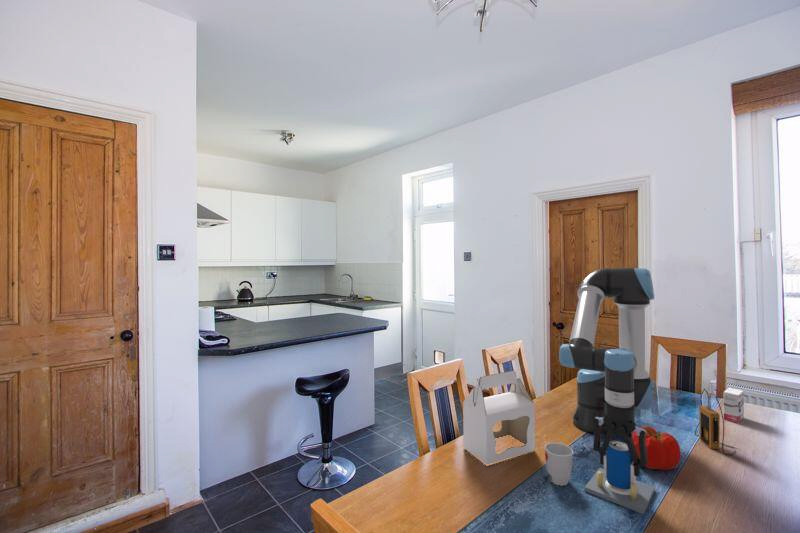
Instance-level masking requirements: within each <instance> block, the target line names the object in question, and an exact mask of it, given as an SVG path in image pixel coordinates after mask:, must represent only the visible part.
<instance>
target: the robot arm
mask: <svg viewBox="0 0 800 533" xmlns="http://www.w3.org/2000/svg"><path fill="white" fill-rule="evenodd" d="M653 285H654V284H653V278H652V274H651V271H650V270H649V269H647V268H640V267H624V268H623V267H622V268H621V267H616V268H615V267H614V268H613V267H612V268H611V267H610V268H609V267H604V268H599V269H597V270H594V271H593V272H591V273H589V274H588V275H587V276H586V277H584V278H583V280H582V281H581V283H580V284H579V286H578V288H577V293H576V294H577V298H578V302H577V306H576V310H575V314H574V315H575V316H574V319H573V322H572V323H573V324H572V328H571V333H570V337H569V342H568V343H563V344H561V345H560V347H559V351H558V352H559V353H558V357H559V358H558V359H559V363H560V365H561V366H563V367H567V368H570V369H571V368H572V369H579V370H578V372H577V374H576V376H577V377H576V386H577V387H576V388H577V390H576V391H577V393H576V394H577V395H576V396H577V397H576V398H577V399H576V400H577V405H576V406H575V407H576V408H575V410H574V413H573V416H572V423H573V425H574V426H575V427H577V428H578V429H579V430H582V431H584V432H589V433H592V434H593V433H594V436H593V437H594V438H593V444H592V446H593V448H592V450H593V451H594V452H598V453H599V458H600V460H599V461H600V462H599V463H600V465H601V466H602V465H603V469H604V478H607V446H608V445H609V442H610V441H612V439H613V436H614V435H615V436H620V437H622V438H623V441H625V443H626V444H627V446H628V449H629V452H630V455H631V458H632V464H631V483H634V484H636V480H637V478H638V477H639V476H640V474H641V466H643V467H646V466H645V465H646V464H647V462H648V459H647V449H646V439H645V436H646V433H647V430H646V429H645V428H643V429H641V428H642V427H639V426H637V424H636V422H635V410H643V411H646V410H647V411H648V410H651V407H652V404H653V397H654V389H655V382H656V381H655V380H654V379H652V378H651V374H650V373H649V371H647V370H646V308H648V306H650V305H651V304H650V303H651V302H650V301H652V300H655V292H654V286H653ZM606 298H608V299H610V298H611V299H613V301H614V302H613V303H614V304H615V306H617V308H618V347H619V348H602V347H595V346H594V344H595V338H596V332H597V329H598V328H597V327H598V323H599V322H598V320H599V315H600V308H601V304H602V302H603V301H604V300H605V299H606ZM634 431H636V432H637V435H638V436H639V438H638V440H639V450H640V458H639V456H638V453H637V450H636V447H635V444H634V442H633V439H632V435H633V433H634ZM602 434H606V436H605V437H604V438H605V439H604V440H603V443H602V442H601V441H602V439H601V438H602ZM601 443H602V445H601Z"/></svg>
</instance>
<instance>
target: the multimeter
mask: <svg viewBox="0 0 800 533" xmlns="http://www.w3.org/2000/svg"><path fill="white" fill-rule="evenodd" d="M704 391H705V393H706V394H707V406H706V405H703V403H702V401H700V404H701V405H700V406H699V407H698V408H699V410H698V412H699V414H698V415H699V416H698V417H699V421H698V424H697V426H696V427H695V430H694V435H695V436H697V437H699V441H700V442H701V443H703V444H705V445H706V446H707V447H708V448H709V449H712V450H720V445H722V446H721V448H722V453H723V454H724V455H727V456H733V455H734V454H735V452H736V450H735V449H737V450H742V449H741V448H738V447H735V446H734V445H729V444H725V443H724V439H725V438H724V437H725V419H724V413H723V411H722V407H721V404H720V402H719V400H718V397H717V396H716V394H714V393H710V394H709V393H708V391H707V390H706V388H703V390H702V392H701V395H700V398H702V396H703V394H704ZM711 396H714V397H715V399H716V401H717V404H718V407H719V410H720V413H721V416H720V413H719V412H718V411H716V410H715V409H713V408H712V405H711V401H710V398H711ZM720 417H721V418H722V426H723V430H722V443H721V442H720V435H721V434H720V433H721V432H720V426H721V425H720V424H721V423H720V421H721V420H720ZM698 427H699V429H698ZM697 430H699V434H697ZM724 446H725V447H729V448H732V449H733V450H732V452H731V454H728V453H725V451H724V450H725V449H724Z"/></svg>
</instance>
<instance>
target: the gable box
mask: <svg viewBox="0 0 800 533" xmlns="http://www.w3.org/2000/svg"><path fill="white" fill-rule="evenodd" d="M476 381H477V384H476V385H474V386H473V388H472V389H471V391H470V392H469V394H468V395H467V396H466V398H465V399H464V400H463V402H462V409H463V410H462V412H463V413H462V414H463V415H462V419H463V420H462V421H463V425H462V426H463V429H462V430H463V432H462V433H463V449H464V448H465V449H467V450H468V451H470V452H471V453H472V454H473V455H475V456H476V457H478V458H479V459H481V460H482V461H483V462H484V463H486V464H490V463H494V462H497V461H500V460H504V459H506V458H510V457H514V456H518V455H521V454H524V453H528V452H531V451H534V450H535V451H536V446H535V444H536V439H535V438H536V437H535V436H536V434H535V433H536V432H535V431H536V428H535V427H536V425H535V418H536V417H535V416H536V415H535V403H534V400H533V399H532V397H531V396H530V393H529V392H528V390H527V388H526V387H525V385H524V383H523V382H522V378H521V377H518V376H517V372H516V371H515V370H508V371H504V372H500V373H492V374H488V375H483V376H480V377H479V378H477V379H476ZM506 385H510V388H509V391H508V392H502V393H499V394H495V395H490V396H484V393H483V390H484V391H485V390H486V389H492V388H496V387H502V386H506ZM499 422H501V429H500V430H499V431H494V427H495V425H496V424H498V423H499ZM506 435H511V436H512V437H514V438H515V439H517V440H519V441H520V442H522V443H524V444H525V445H524V446H521V447H511V448H508V449H506V450H505V451H503V452H502V453H500V454H496V451H495V449H496V441H495V438H499V437H503V436H506Z"/></svg>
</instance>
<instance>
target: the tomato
mask: <svg viewBox="0 0 800 533" xmlns="http://www.w3.org/2000/svg"><path fill="white" fill-rule="evenodd" d="M640 428H641V429H643V428H645V429H646V430H647V433H646V436H645V439H646V449H647V459H648V462H647V464H646V465H645V466H644V467H646V468H647V469H651V470H658V469H659V470H662V471H670V470H672V469H674V468H677V466H678V464H680V461H681V459H682V458H681V457H682V456H681V446H680V444H679V441H678V440H677V438H675V436H673V435H672V434H670V433H668V432H662V433H661V431H657V430H656V429H655V428H653V427H651V426H649V425H648V426H647V425H643V424H642V425H641V427H640ZM638 438H639V436H638V435H637V432H636V431H635V430H634V431H633V432H632V439H633V442H634V444H635V447H636V450H637V453H638V456H639V458H640V450H639V440H638Z"/></svg>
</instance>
